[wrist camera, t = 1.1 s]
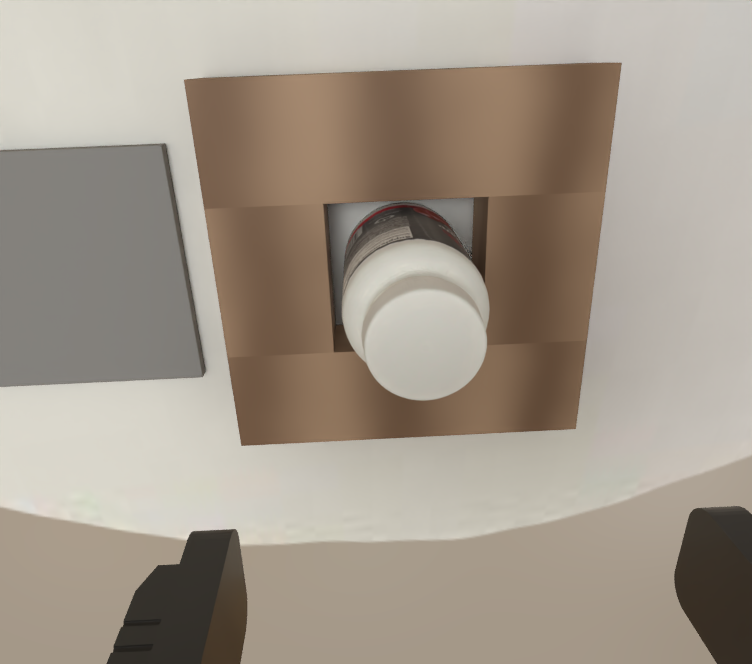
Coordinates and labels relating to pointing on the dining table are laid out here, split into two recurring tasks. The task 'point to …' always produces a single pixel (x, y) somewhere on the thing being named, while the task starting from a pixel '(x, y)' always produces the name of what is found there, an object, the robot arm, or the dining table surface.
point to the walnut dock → (395, 183)
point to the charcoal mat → (93, 268)
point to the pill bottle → (414, 302)
